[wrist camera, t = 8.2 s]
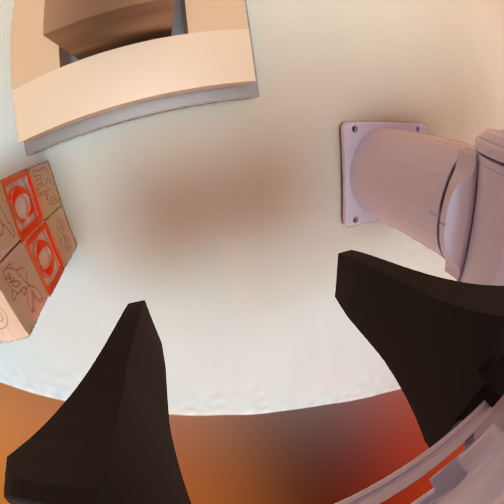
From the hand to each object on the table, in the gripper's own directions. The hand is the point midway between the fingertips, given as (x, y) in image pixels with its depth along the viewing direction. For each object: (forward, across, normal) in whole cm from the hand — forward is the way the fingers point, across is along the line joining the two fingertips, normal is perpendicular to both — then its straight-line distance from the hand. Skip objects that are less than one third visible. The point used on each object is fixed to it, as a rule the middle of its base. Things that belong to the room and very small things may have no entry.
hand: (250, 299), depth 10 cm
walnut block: (+8, +4, -14) cm, 16 cm away
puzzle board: (+9, +4, -14) cm, 17 cm away
